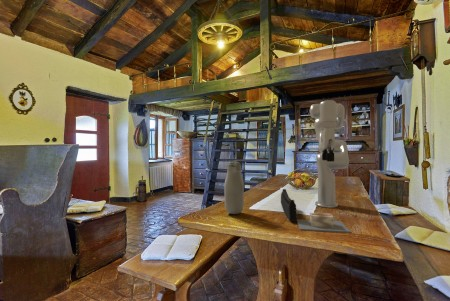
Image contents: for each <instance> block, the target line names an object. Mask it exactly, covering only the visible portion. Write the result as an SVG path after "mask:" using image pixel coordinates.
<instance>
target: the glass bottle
mask: <svg viewBox="0 0 450 301" xmlns="http://www.w3.org/2000/svg"><path fill="white" fill-rule="evenodd" d="M243 178H244V177H243V174H242V164H241V162H239V161H234V160H232V161H229V162H228V163H227V171H226V177H225V180H224V186H223V187H224V188H223V189H224V208H225V210H226V212H227V213H228V214H230V215H239V214H240V213H242V212H243V209H244V205H245V202H244V201H245V199H244V197H245V196H244V194H245V182H244V179H243Z"/></svg>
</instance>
